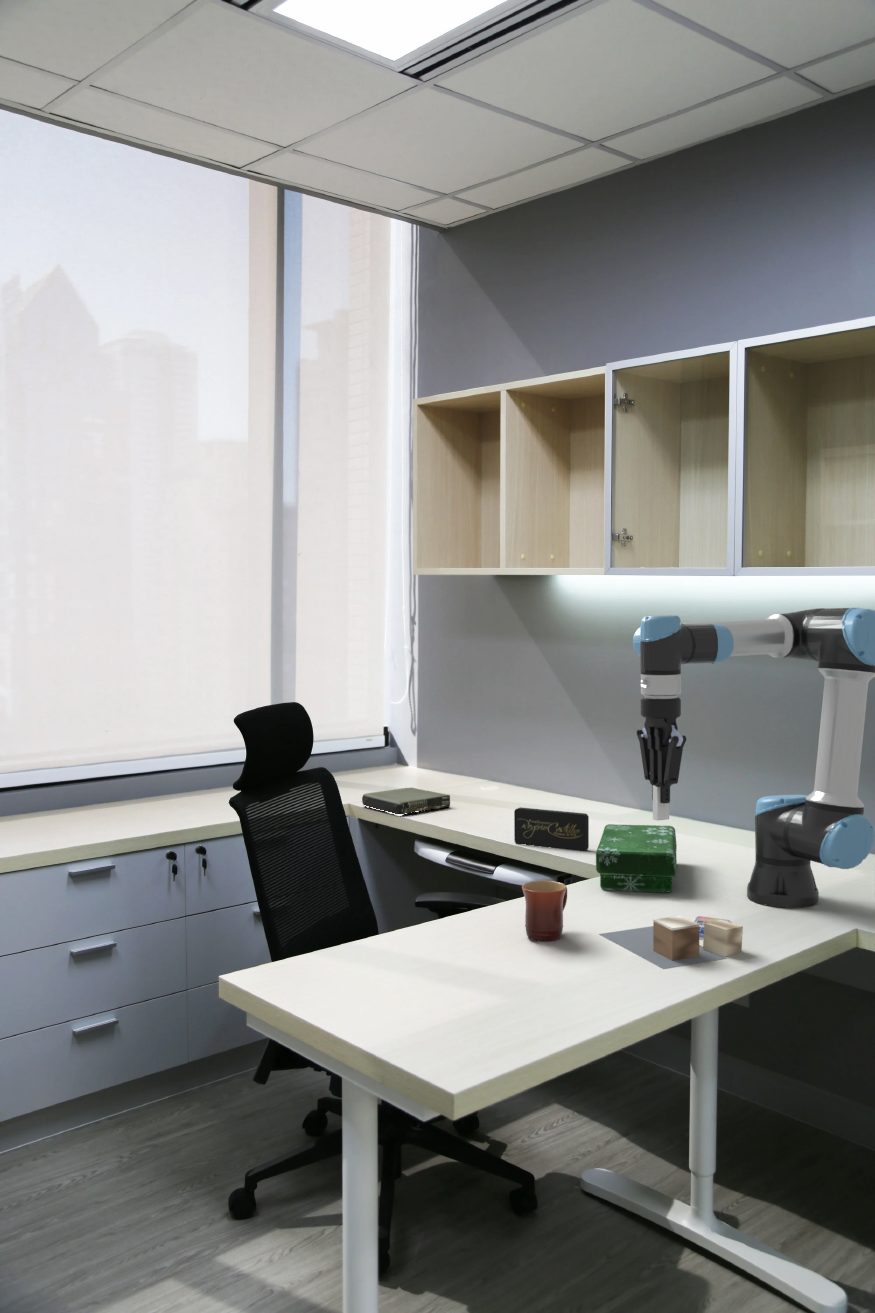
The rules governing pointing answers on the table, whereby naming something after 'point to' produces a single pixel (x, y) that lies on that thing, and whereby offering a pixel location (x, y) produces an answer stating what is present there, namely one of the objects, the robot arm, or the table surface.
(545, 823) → the nameplate
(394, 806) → the network switch
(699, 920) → the smartphone
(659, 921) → the walnut cube
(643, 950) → the felt mat
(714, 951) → the maple block
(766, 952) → the table surface
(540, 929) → the mug
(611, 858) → the box
